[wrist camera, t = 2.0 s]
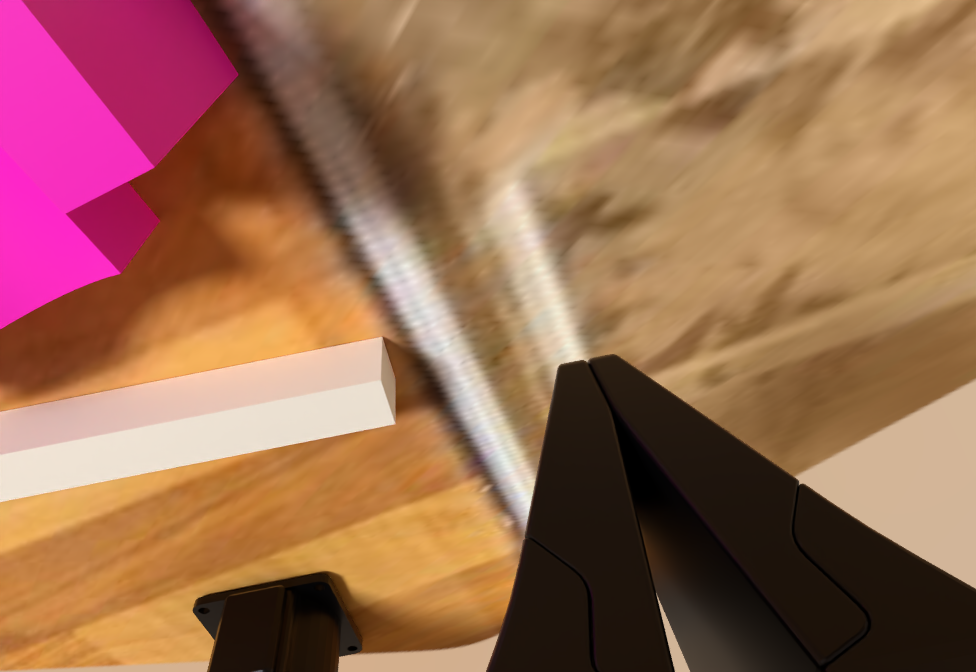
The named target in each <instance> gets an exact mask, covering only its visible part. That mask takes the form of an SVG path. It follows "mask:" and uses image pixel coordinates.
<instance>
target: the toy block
mask: <svg viewBox="0 0 976 672" xmlns="http://www.w3.org/2000/svg"><path fill="white" fill-rule="evenodd" d="M238 75H239V74H238V73H237V71H236V70H235V68H234V66H233V65H232V63H231V62H230V60H229V59H228V57H227V56H226V54H225V53H224V51H223V50H222V48H221V46H220V45H219V43H218V42H217V40H216V39H215V37H214V36H213V34H212V33H211V31H210V30H209V28H208V27H207V25H206V23H205V22H204V20H203V19H202V17H201V16H200V14H199V13H198V11H197V10H196V8H195V7H194V5H193V3H192V2H191V0H0V329H2V328H3V327H5V326H7V325H8V324H10V323H12V322H13V321H15V320H17V319H19V318H20V317H22V316H24V315H26V314H28V313H29V312H31V311H33V310H35V309H37V308H39V307H41V306H42V305H44V304H46V303H48V302H50V301H52V300H54V299H56V298H58V297H60V296H62V295H64V294H67V293H69V292H71V291H73V290H75V289H78V288H80V287H83V286H85V285H88V284H90V283H92V282H95V281H98V280H101V279H104V278H107V277H110V276H114V275H118V274H121V273H122V272H123V270H124V269H125V268H126V266H127V265H128V264H129V262H130V261H131V260H132V258H133V257H134V256H135V254H136V253H137V251H138V250H139V249H140V247H141V246H142V245H143V243H144V242H145V241H146V239H147V238H148V237H149V235H150V234H151V233H152V231H153V230H154V229H155V227H156V226H157V225H158V223H159V222H160V220H159V219H158V218H157V216H156V215H155V214H154V213H153V212H152V210H151V209H150V208H149V207H148V206H147V204H146V203H145V202H144V201H143V200H142V198H141V197H140V196H139V195H138V194H137V192H136V191H135V190H134V189H133V188H132V186H131V185H130V184H129V183H128V181H130V180H132V179H133V178H135V177H137V176H139V175H141V174H143V173H145V172H147V171H149V170H151V169H153V168H155V167H156V166H157V164H158V163H159V162H160V161H161V160H162V159H163V158H164V157H165V156H166V155H167V153H168V152H169V151H170V150H171V149H172V148H173V147H174V146H175V145H176V143H177V142H178V141H179V140H180V139H181V138H182V137H183V136H184V135H185V134H186V132H187V131H188V130H189V129H190V128H191V127H192V126H193V125H194V124H195V123H196V121H197V120H198V119H199V118H200V117H201V116H202V115H203V114H204V113H205V111H206V110H207V109H208V108H209V107H210V106H211V105H212V104H213V103H214V102H215V100H216V99H217V98H218V97H219V96H220V95H221V94H222V93H223V92H224V91H225V89H226V88H227V87H228V86H229V85H230V84H231V83H232V82H233V81H234V80H235V78H236V77H237V76H238Z"/></svg>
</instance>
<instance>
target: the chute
mask: <svg viewBox="0 0 976 672" xmlns="http://www.w3.org/2000/svg"><path fill="white" fill-rule="evenodd" d="M395 405H396V378H395V375H394V372H393V369H392V366H391V363H390V359H389V356H388V353H387V350H386V347H385V344H384V340H383V337H378V338H373V339H368V340H363V341H358V342H353V343H348V344H343V345H338V346H333V347H328V348H322V349H317V350H312V351H307V352H302V353H297V354H292V355H287V356H282V357H277V358H272V359H267V360H261V361H256V362H251V363H246V364H241V365H236V366H231V367H226V368H221V369H216V370H211V371H206V372H200V373H195V374H190V375H185V376H180V377H175V378H170V379H165V380H160V381H155V382H150V383H145V384H139V385H134V386H129V387H124V388H119V389H114V390H109V391H104V392H99V393H94V394H89V395H84V396H78V397H73V398H68V399H63V400H58V401H53V402H48V403H43V404H38V405H33V406H28V407H23V408H17V409H12V410H7V411H2V412H0V502H3V501H8V500H13V499H18V498H23V497H28V496H33V495H38V494H43V493H48V492H53V491H58V490H63V489H69V488H74V487H79V486H84V485H89V484H94V483H99V482H104V481H109V480H114V479H119V478H124V477H129V476H134V475H140V474H145V473H150V472H155V471H160V470H165V469H170V468H175V467H180V466H185V465H190V464H195V463H200V462H205V461H211V460H216V459H221V458H226V457H231V456H236V455H241V454H246V453H251V452H256V451H261V450H266V449H271V448H276V447H282V446H287V445H292V444H297V443H302V442H307V441H312V440H317V439H322V438H327V437H332V436H337V435H342V434H347V433H353V432H358V431H363V430H368V429H373V428H378V427H383V426H388V425H393V424H395Z"/></svg>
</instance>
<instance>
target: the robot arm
mask: <svg viewBox="0 0 976 672" xmlns="http://www.w3.org/2000/svg"><path fill="white" fill-rule="evenodd" d="M656 593H657V595H656ZM657 596H658V598H659V600H660V603H661V605H662V607H663V610H664V612H665V614H666V616H667V619H668V621H669V623H670V626H671V628H672V630H673V633H674V635H675V637H676V639H677V642H678V644H679V646H680V649H681V651H682V653H683V656H684V658H685V660H686V663H687V665H688V667H689V670H690V672H976V589H975V588H973V587H971V586H970V585H968V584H966V583H965V582H963V581H961V580H959V579H958V578H956V577H954V576H952V575H950V574H948V573H947V572H945V571H943V570H941V569H940V568H938V567H936V566H935V565H932V564H931V563H929V562H927V561H926V560H924V559H922V558H920V557H919V556H917V555H915V554H914V553H912V552H910V551H909V550H907V549H905V548H904V547H902V546H900V545H898V544H897V543H895V542H893V541H892V540H890V539H888V538H887V537H885V536H883V535H882V534H880V533H878V532H877V531H875V530H873V529H872V528H870V527H868V526H867V525H865V524H864V523H862V522H861V521H859V520H858V519H856V518H854V517H853V516H851V515H850V514H848V513H847V512H845V511H844V510H842V509H840V508H839V507H837V506H836V505H835V504H833V503H832V502H830V501H828V500H827V499H826V498H824V497H823V496H821V495H820V494H818V493H817V492H815V491H814V490H813V489H811V488H810V487H808V486H806V485H805V484H800V485H799V481H798V479H796V478H795V477H793V476H792V475H790V474H789V473H787V472H786V471H785V470H783V469H782V468H780V467H779V466H777V465H776V464H774V463H773V462H772V461H770V460H769V459H767V458H766V457H764V456H763V455H761V454H760V453H758V452H757V451H756V450H754V449H753V448H751V447H750V446H748V445H747V444H745V443H744V442H742V441H741V440H740V439H738V438H737V437H735V436H734V435H732V434H731V433H729V432H728V431H727V430H725V429H724V428H722V427H721V426H719V425H718V424H716V423H715V422H713V421H712V420H711V419H709V418H708V417H706V416H705V415H703V414H702V413H700V412H699V411H697V410H696V409H695V408H693V407H692V406H690V405H689V404H687V403H686V402H684V401H683V400H682V399H680V398H679V397H677V396H676V395H674V394H673V393H671V392H670V391H668V390H667V389H666V388H664V387H663V386H661V385H660V384H658V383H657V382H655V381H654V380H653V379H651V378H650V377H648V376H647V375H645V374H644V373H642V372H641V371H639V370H638V369H637V368H635V367H634V366H632V365H631V364H629V363H628V362H626V361H625V360H623V359H622V358H621V357H619V356H617V355H615V354H610V355H605V356H600V357H595V358H591V359H589V361H588V363H587V362H586V361H584V360H580V361H574V362H569V363H564V364H561V365H560V366H559V367H558V370H557V375H556V380H555V385H554V390H553V395H552V400H551V405H550V410H549V415H548V420H547V425H546V430H545V435H544V440H543V445H542V451H541V456H540V461H539V466H538V471H537V476H536V481H535V486H534V491H533V496H532V501H531V506H530V511H529V516H528V521H527V526H526V531H525V539H524V540H523V545H522V550H521V555H520V560H519V565H518V569H517V573H516V577H515V581H514V585H513V590H512V594H511V598H510V601H509V605H508V608H507V611H506V614H505V617H504V620H503V624H502V627H501V630H500V633H499V636H498V639H497V642H496V645H495V648H494V651H493V653H492V656H491V659H490V662H489V665H488V667H487V670H486V672H675V670H674V666H673V662H672V658H671V654H670V650H669V645H668V641H667V637H666V633H665V628H664V624H663V620H662V616H661V612H660V608H659V604H658V599H657ZM193 613H194V614H195V615H196V617H197V618H198V619H199V621H200V622H201V623H202V624H203V626H204V627H205V628H206V630H207V631H208V632H209V633H210V635H211V636H212V637H213V639H214V640H215V642H214V646H213V650H212V654H211V658H210V662H209V666H208V670H207V672H338V663H339V657H340V656H345V655H350V654H355V653H358V652H360V651H361V650H362V642H363V641H362V638H361V636H360V634H359V632H358V630H357V628H356V626H355V624H354V622H353V620H352V618H351V616H350V615H349V613H348V611H347V609H346V607H345V605H344V603H343V601H342V599H341V597H340V595H339V593H338V591H337V589H336V587H335V585H334V583H333V582H332V580H331V578H330V577H329V576H328V575H325V574H316V575H311V576H306V577H301V578H295V579H290V580H285V581H280V582H275V583H270V584H265V585H260V586H255V587H250V588H245V589H240V590H235V591H230V592H225V593H220V594H215V595H210V596H204V597H200V598H198V599H197V600H196V601H195V604H194V607H193Z"/></svg>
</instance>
